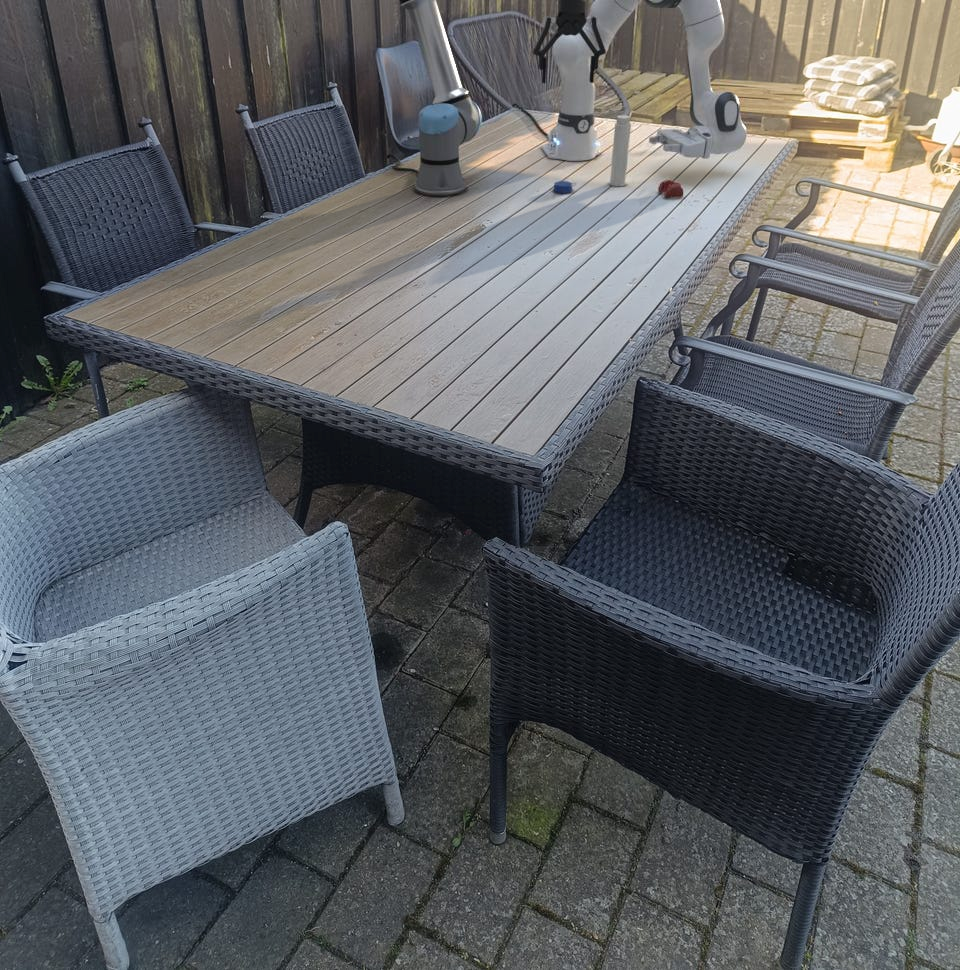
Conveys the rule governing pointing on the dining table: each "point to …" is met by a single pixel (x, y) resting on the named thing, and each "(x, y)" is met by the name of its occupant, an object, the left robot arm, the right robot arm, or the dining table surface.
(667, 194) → the dental model
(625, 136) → the white cylinder
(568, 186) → the lid
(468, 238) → the dining table surface
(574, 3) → the left robot arm
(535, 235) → the dining table surface
